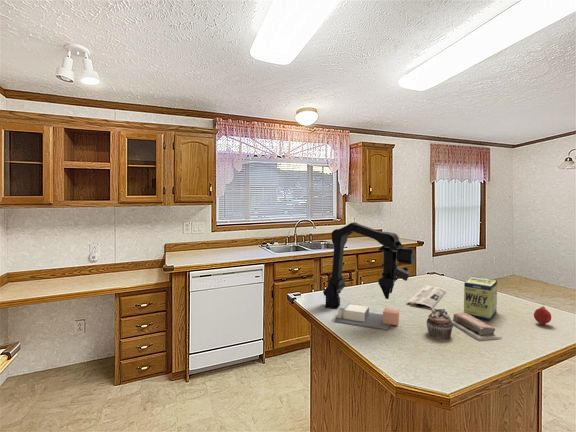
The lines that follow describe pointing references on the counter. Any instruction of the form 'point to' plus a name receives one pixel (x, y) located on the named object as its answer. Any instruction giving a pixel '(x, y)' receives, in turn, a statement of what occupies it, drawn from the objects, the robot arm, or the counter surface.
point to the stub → (391, 316)
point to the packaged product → (474, 327)
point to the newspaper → (427, 296)
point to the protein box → (480, 298)
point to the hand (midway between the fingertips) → (388, 296)
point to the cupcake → (439, 324)
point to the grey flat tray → (360, 317)
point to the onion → (542, 315)
